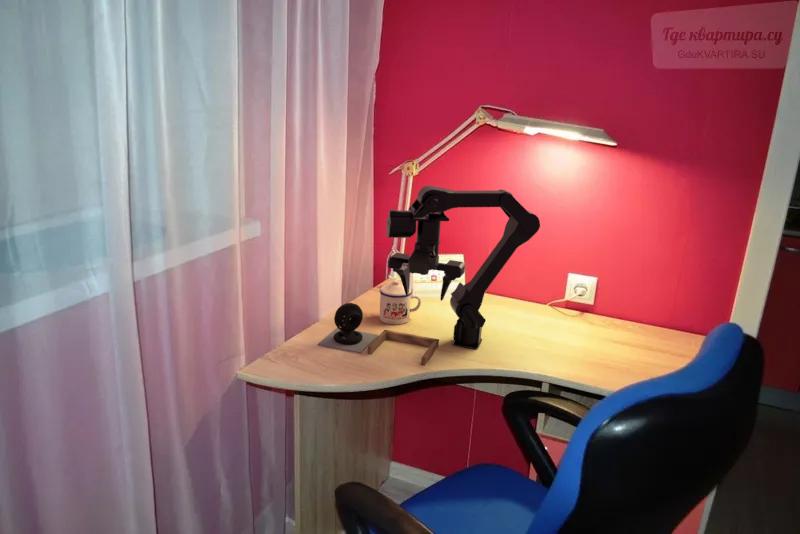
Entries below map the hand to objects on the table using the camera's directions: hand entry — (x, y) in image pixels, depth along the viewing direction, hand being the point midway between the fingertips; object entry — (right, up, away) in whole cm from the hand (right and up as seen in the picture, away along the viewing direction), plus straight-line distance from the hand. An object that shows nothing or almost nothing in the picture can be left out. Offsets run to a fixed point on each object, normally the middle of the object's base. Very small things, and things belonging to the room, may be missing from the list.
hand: (424, 297), depth 152 cm
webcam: (-20, -11, +4) cm, 23 cm away
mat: (-20, -11, +4) cm, 23 cm away
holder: (-5, -14, -1) cm, 15 cm away
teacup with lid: (-6, -7, +20) cm, 22 cm away
